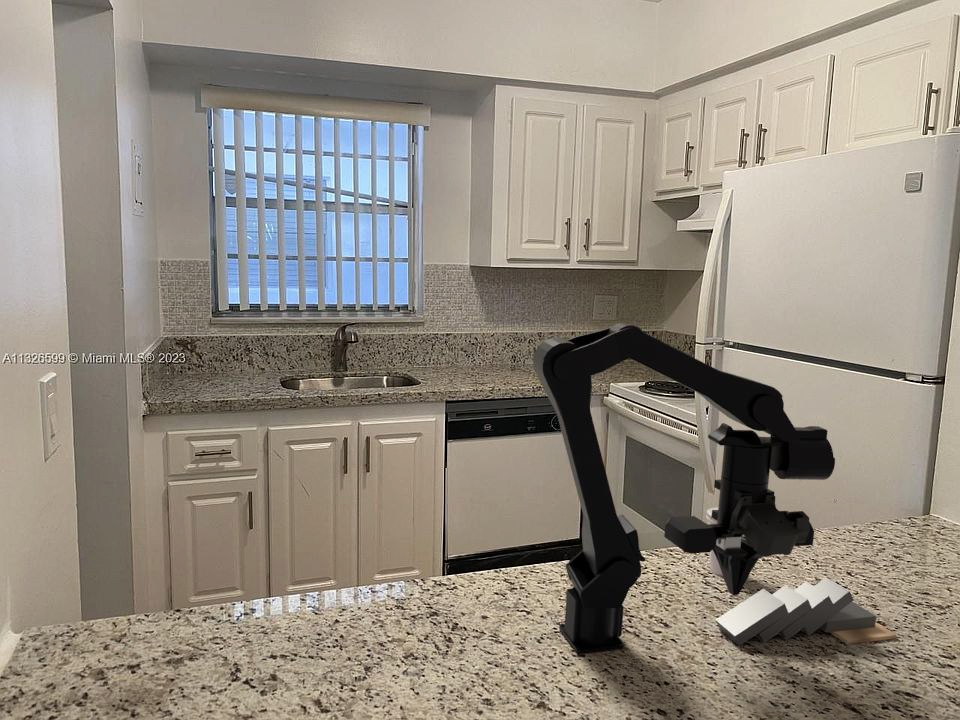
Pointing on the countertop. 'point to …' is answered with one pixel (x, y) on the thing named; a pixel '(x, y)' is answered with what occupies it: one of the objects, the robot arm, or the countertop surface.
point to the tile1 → (751, 616)
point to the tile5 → (850, 619)
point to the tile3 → (818, 604)
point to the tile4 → (838, 598)
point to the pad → (864, 634)
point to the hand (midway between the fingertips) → (733, 593)
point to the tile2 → (795, 608)
